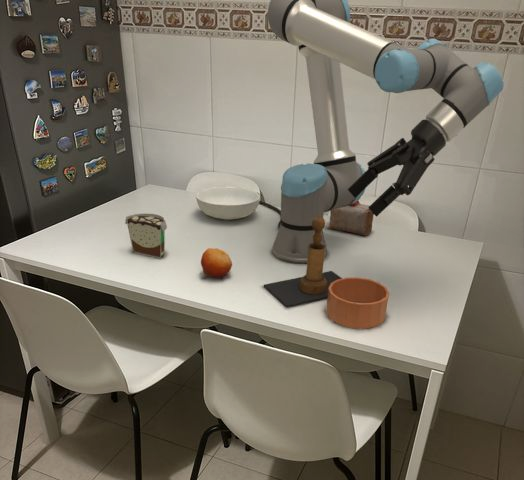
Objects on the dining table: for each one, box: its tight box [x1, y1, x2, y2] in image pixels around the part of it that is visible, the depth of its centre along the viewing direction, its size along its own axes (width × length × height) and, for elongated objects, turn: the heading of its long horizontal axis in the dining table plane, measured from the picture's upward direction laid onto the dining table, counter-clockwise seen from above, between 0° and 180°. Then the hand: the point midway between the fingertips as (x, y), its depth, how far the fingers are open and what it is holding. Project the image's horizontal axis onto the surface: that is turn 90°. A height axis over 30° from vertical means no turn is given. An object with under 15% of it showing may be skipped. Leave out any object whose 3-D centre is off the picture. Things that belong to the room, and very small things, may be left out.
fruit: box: [200, 247, 233, 279], centre depth 132 cm, size 8×8×8 cm
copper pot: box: [325, 276, 390, 330], centre depth 117 cm, size 13×13×6 cm
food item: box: [328, 200, 375, 236], centre depth 161 cm, size 14×8×10 cm, turn 59°
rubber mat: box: [263, 270, 343, 309], centre depth 128 cm, size 12×20×1 cm, turn 117°
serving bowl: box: [195, 186, 261, 221], centre depth 171 cm, size 21×21×7 cm
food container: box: [124, 212, 168, 259], centre depth 143 cm, size 12×6×10 cm, turn 65°
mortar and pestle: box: [300, 216, 327, 295], centre depth 122 cm, size 7×6×18 cm
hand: (361, 202), depth 118 cm, fingers open, 13 cm apart
